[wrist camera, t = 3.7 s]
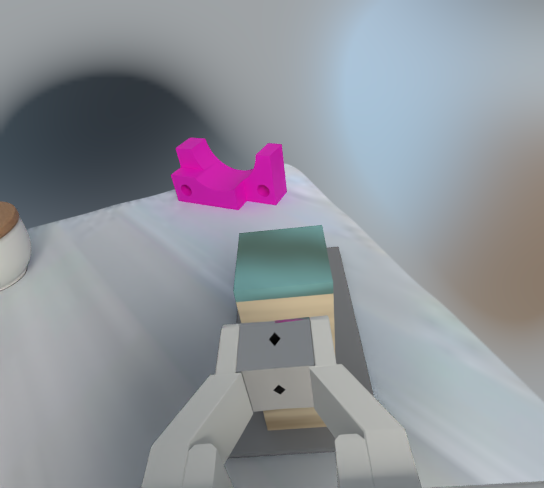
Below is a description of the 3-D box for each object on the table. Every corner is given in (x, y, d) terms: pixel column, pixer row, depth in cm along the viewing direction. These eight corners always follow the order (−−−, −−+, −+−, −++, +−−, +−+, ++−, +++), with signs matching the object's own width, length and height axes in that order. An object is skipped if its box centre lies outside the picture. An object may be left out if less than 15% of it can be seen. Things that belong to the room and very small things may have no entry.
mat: (384, 448, 26) (385, 444, 26) (226, 457, 27) (224, 454, 27) (338, 250, 44) (338, 246, 44) (243, 259, 45) (242, 255, 44)
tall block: (337, 426, 27) (333, 282, 19) (267, 430, 28) (233, 290, 19) (328, 365, 31) (321, 225, 23) (267, 370, 32) (239, 233, 23)
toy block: (179, 201, 58) (164, 155, 53) (201, 182, 62) (190, 137, 58) (268, 215, 52) (261, 164, 47) (286, 192, 56) (281, 144, 52)
